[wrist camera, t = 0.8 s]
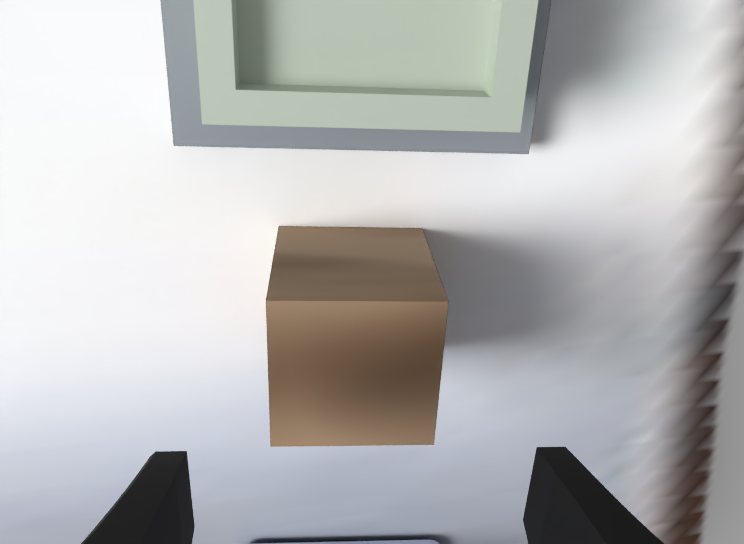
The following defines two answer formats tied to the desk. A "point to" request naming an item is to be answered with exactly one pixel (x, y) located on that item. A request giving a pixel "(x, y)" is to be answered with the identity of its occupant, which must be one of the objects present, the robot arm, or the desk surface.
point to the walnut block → (354, 337)
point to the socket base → (355, 73)
